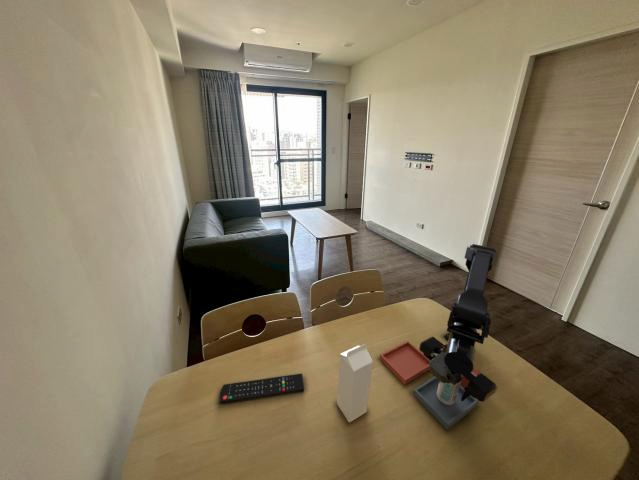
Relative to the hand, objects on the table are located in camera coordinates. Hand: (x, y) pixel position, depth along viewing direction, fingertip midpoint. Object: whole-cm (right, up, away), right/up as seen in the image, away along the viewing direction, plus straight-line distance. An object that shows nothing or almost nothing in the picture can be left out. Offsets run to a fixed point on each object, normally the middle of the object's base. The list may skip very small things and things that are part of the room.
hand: (448, 387), depth 71 cm
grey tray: (0, -5, +2) cm, 5 cm away
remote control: (-53, -3, +4) cm, 53 cm away
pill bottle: (0, -4, +2) cm, 5 cm away
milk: (-27, -6, -1) cm, 28 cm away
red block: (+9, -3, +8) cm, 12 cm away
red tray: (-7, 0, +14) cm, 15 cm away
